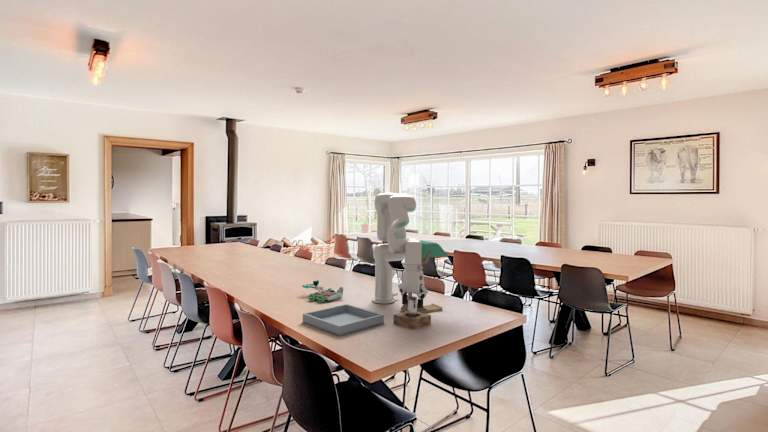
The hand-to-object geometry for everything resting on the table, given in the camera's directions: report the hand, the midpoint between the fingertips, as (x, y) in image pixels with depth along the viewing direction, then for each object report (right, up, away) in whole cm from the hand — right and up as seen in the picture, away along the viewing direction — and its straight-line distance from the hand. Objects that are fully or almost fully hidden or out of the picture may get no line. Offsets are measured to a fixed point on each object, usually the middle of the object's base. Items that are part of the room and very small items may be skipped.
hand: (412, 305), depth 192 cm
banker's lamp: (+7, -8, +23) cm, 25 cm away
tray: (-31, -8, 0) cm, 32 cm away
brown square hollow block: (0, -8, 0) cm, 8 cm away
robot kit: (-49, -6, +48) cm, 69 cm away
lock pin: (0, -8, 0) cm, 8 cm away
